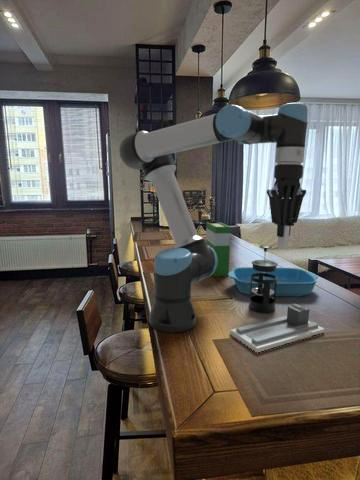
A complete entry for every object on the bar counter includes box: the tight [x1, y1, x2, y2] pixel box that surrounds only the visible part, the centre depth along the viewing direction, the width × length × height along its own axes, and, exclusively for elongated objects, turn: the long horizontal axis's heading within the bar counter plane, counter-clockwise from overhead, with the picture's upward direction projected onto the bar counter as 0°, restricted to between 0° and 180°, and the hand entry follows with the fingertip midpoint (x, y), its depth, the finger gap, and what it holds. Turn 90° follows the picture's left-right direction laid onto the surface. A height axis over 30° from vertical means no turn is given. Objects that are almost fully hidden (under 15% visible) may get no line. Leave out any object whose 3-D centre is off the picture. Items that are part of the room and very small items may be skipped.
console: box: [229, 315, 325, 354], centre depth 95 cm, size 26×12×2 cm, turn 117°
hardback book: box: [205, 221, 231, 277], centre depth 160 cm, size 18×7×24 cm, turn 9°
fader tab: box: [286, 303, 310, 326], centre depth 98 cm, size 4×4×6 cm
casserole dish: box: [228, 266, 319, 297], centre depth 135 cm, size 37×22×7 cm, turn 88°
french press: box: [248, 244, 279, 314], centre depth 112 cm, size 12×9×23 cm
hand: (282, 247), depth 92 cm, fingers closed
